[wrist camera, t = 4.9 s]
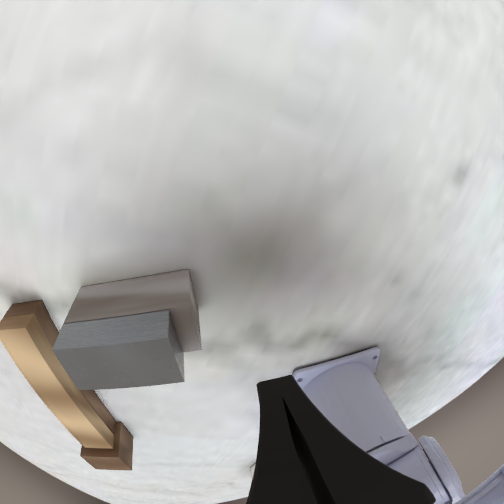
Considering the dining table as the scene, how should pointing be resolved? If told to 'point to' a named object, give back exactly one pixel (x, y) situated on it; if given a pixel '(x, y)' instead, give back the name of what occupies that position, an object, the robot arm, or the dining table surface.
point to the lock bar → (121, 352)
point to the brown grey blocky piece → (119, 305)
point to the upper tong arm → (52, 380)
